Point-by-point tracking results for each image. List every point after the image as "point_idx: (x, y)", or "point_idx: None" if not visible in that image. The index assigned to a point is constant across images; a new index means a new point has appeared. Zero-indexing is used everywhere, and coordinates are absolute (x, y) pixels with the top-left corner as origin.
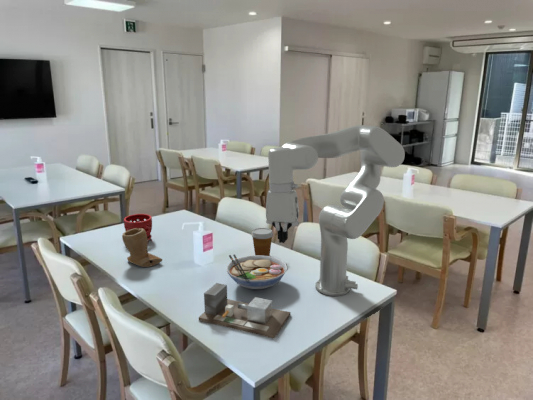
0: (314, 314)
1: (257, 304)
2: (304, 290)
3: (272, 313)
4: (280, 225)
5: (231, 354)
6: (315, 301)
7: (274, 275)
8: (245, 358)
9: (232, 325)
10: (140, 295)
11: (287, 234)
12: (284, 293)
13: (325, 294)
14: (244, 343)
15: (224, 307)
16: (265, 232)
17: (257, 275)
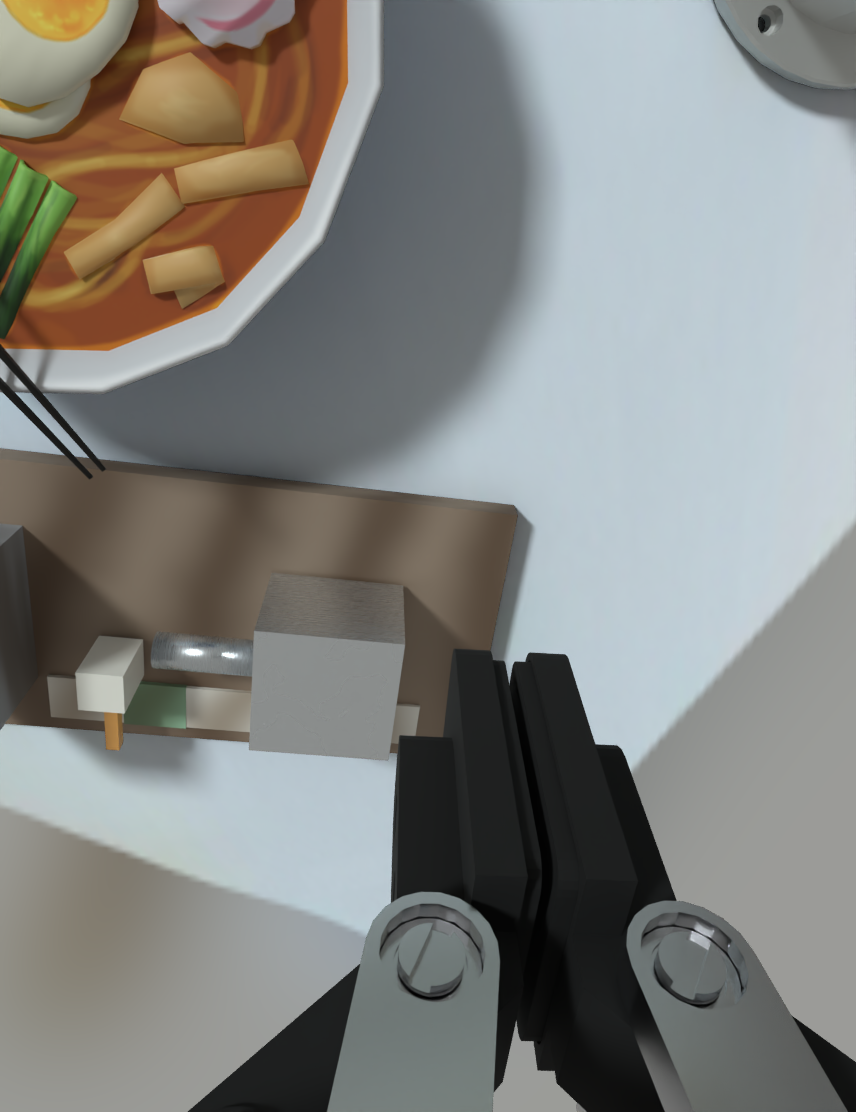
0: (681, 447)
1: (312, 718)
2: (579, 22)
3: (402, 590)
4: (456, 1046)
5: (299, 884)
6: (689, 239)
7: (253, 70)
8: (371, 890)
9: (199, 737)
10: None
11: (640, 834)
12: (395, 152)
13: (789, 76)
14: (325, 810)
15: (33, 577)
16: None
17: (57, 132)
